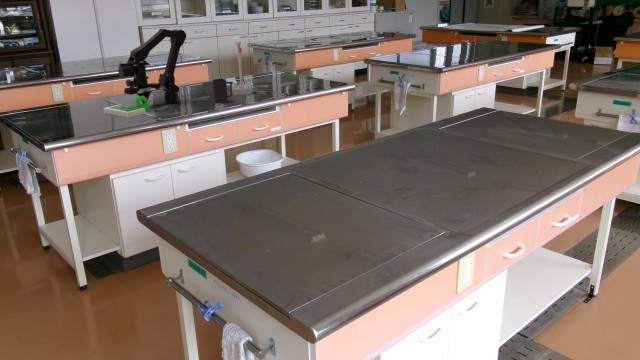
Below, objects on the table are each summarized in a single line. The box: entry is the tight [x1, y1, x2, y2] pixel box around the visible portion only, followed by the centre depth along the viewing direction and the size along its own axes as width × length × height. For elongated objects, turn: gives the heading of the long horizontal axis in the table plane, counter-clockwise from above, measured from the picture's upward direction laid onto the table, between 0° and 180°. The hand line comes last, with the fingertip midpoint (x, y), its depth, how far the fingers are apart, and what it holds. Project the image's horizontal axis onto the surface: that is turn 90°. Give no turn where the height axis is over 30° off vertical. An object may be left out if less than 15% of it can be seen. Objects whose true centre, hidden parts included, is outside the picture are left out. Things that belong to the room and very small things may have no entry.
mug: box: [212, 78, 233, 104], centre depth 280 cm, size 10×7×12 cm
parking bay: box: [103, 103, 146, 118], centre depth 263 cm, size 10×19×2 cm, turn 55°
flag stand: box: [232, 39, 254, 96], centre depth 297 cm, size 13×13×30 cm
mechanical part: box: [123, 96, 150, 113], centre depth 266 cm, size 12×6×8 cm, turn 104°
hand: (145, 104), depth 273 cm, fingers closed
